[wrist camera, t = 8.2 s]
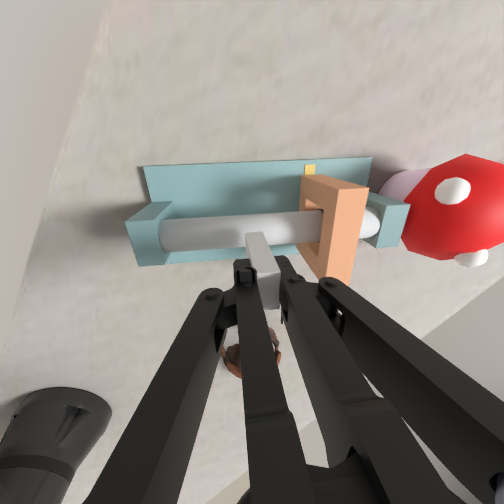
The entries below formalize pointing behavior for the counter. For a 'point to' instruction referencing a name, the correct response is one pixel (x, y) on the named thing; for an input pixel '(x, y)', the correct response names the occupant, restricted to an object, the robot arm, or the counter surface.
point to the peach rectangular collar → (333, 224)
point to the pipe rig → (246, 209)
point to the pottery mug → (233, 355)
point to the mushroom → (452, 208)
